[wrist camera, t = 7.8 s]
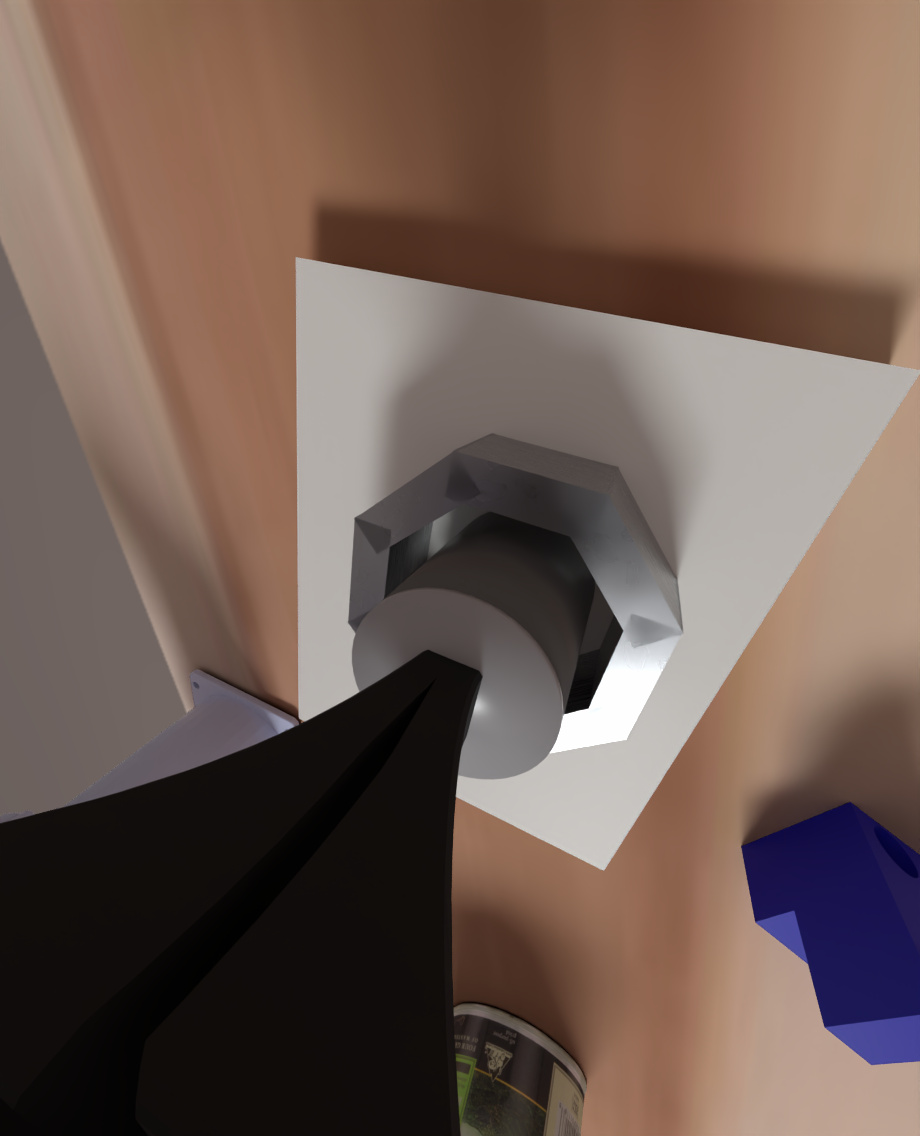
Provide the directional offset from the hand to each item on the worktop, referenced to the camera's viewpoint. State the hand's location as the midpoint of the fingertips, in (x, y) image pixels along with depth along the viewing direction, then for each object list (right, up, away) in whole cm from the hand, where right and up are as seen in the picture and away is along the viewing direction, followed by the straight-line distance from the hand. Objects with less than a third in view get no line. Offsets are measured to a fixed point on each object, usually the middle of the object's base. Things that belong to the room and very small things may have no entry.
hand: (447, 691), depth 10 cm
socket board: (+2, +2, +7) cm, 8 cm away
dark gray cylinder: (+2, +2, +5) cm, 6 cm away
